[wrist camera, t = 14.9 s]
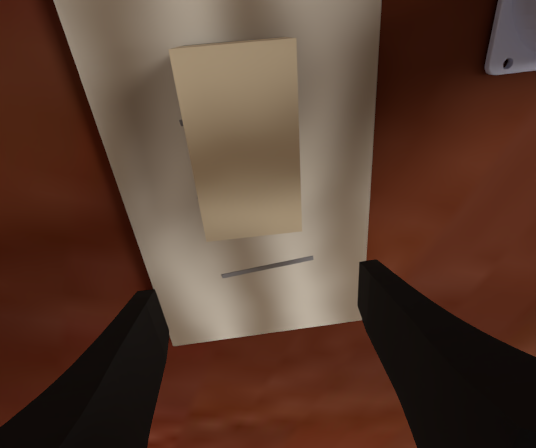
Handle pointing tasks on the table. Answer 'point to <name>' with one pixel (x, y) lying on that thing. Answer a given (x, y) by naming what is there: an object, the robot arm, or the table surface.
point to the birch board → (180, 170)
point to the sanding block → (242, 134)
